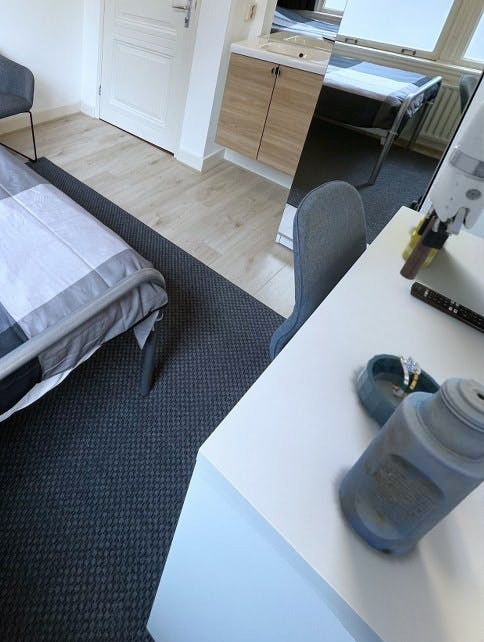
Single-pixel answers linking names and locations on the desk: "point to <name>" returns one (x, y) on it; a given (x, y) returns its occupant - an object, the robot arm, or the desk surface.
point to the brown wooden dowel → (418, 255)
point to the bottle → (417, 467)
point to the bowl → (393, 372)
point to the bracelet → (407, 376)
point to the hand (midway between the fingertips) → (428, 240)
